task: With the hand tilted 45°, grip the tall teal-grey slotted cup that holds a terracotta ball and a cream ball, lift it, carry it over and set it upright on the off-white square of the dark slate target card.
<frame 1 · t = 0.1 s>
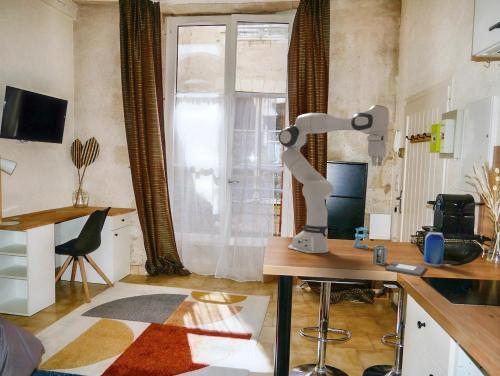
hand: (376, 165, 196), 48 cm above the table, tool pointing down, fingers open, 8 cm apart
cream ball: (380, 253, 193), point 5 cm above the table, touching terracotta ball
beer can: (432, 265, 194), on the table
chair: (360, 247, 229), on the table
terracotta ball: (379, 259, 193), point 2 cm above the table, touching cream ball, slotted cup
slotted cup: (379, 263, 193), on the table, touching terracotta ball
target card: (405, 269, 183), on the table
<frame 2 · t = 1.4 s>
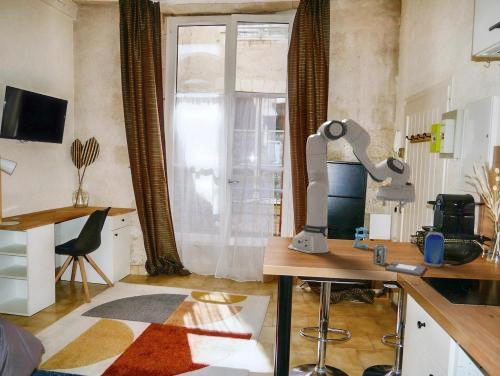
hand: (392, 206, 207), 27 cm above the table, tool tilted 45°, fingers open, 8 cm apart
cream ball: (381, 253, 193), point 5 cm above the table, tilted 64°, touching slotted cup, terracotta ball
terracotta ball: (378, 259, 193), point 2 cm above the table, tilted 20°, touching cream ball, slotted cup
slotted cup: (379, 263, 193), on the table, touching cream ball, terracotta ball
everything else where it was.
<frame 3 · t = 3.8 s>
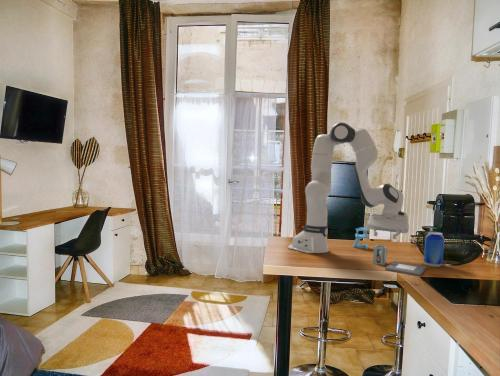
hand: (384, 236, 197), 12 cm above the table, tool tilted 45°, fingers open, 8 cm apart
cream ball: (381, 253, 193), point 5 cm above the table, tilted 77°, touching slotted cup, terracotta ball
everything else where it was.
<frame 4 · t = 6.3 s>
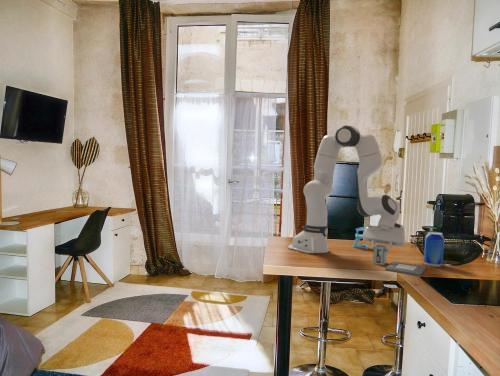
hand: (380, 249, 192), 7 cm above the table, tool tilted 45°, fingers closed on slotted cup, 5 cm apart
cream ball: (381, 253, 193), point 5 cm above the table, tilted 86°, touching slotted cup, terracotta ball
slotted cup: (379, 263, 193), on the table, touching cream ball, gripper, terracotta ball
everything else where it was.
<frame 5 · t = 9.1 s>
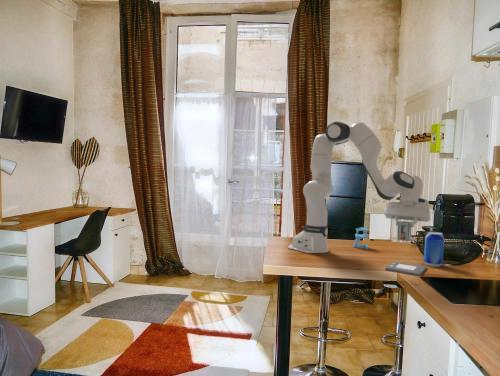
hand: (404, 225, 183), 20 cm above the table, tool tilted 45°, fingers closed on slotted cup, 5 cm apart
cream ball: (405, 230, 184), point 18 cm above the table, tilted 85°, touching slotted cup, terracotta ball
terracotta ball: (402, 235, 184), point 16 cm above the table, tilted 30°, touching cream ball, slotted cup
slotted cup: (404, 240, 184), point 14 cm above the table, touching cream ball, gripper, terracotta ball
everything else where it was.
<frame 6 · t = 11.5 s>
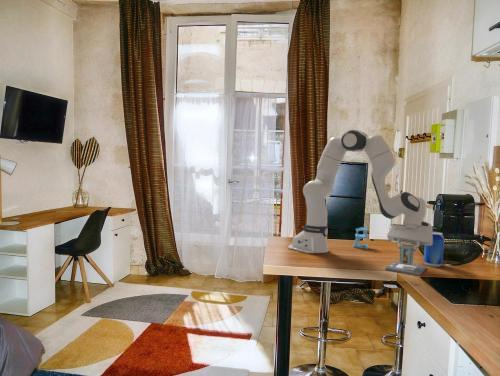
hand: (406, 249, 182), 10 cm above the table, tool tilted 45°, fingers closed on slotted cup, 5 cm apart
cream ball: (408, 253, 183), point 7 cm above the table, tilted 86°, touching slotted cup, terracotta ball
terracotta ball: (405, 259, 183), point 5 cm above the table, tilted 29°, touching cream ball, slotted cup
slotted cup: (406, 263, 183), point 3 cm above the table, touching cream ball, gripper, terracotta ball
everything else where it was.
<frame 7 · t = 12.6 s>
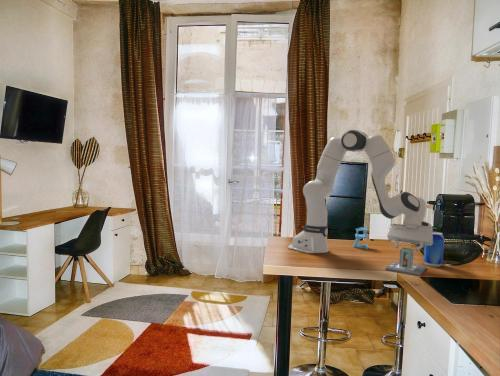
hand: (406, 249, 182), 10 cm above the table, tool tilted 45°, fingers open, 8 cm apart
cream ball: (407, 257, 183), point 6 cm above the table, tilted 87°, touching slotted cup, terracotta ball
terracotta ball: (404, 262, 183), point 3 cm above the table, tilted 29°, touching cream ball, slotted cup
slotted cup: (405, 266, 183), point 1 cm above the table, touching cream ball, target card, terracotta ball
everything else where it was.
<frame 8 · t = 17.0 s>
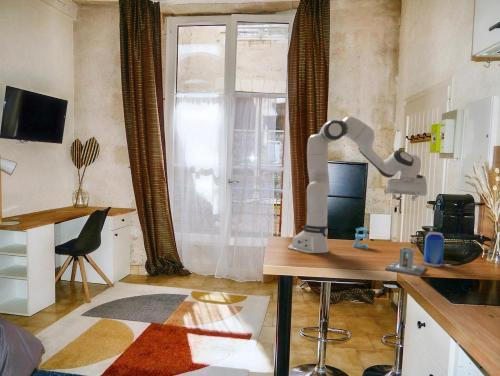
hand: (403, 199, 200), 31 cm above the table, tool tilted 45°, fingers open, 8 cm apart
nothing on the table moved.
at the end: slotted cup 0.1 cm off-centre on the target card, point 1.1 cm above the target card's base; slotted cup tilted 0°; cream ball 0.7 cm off-centre on the slotted cup, point 4.7 cm above the slotted cup's base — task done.
